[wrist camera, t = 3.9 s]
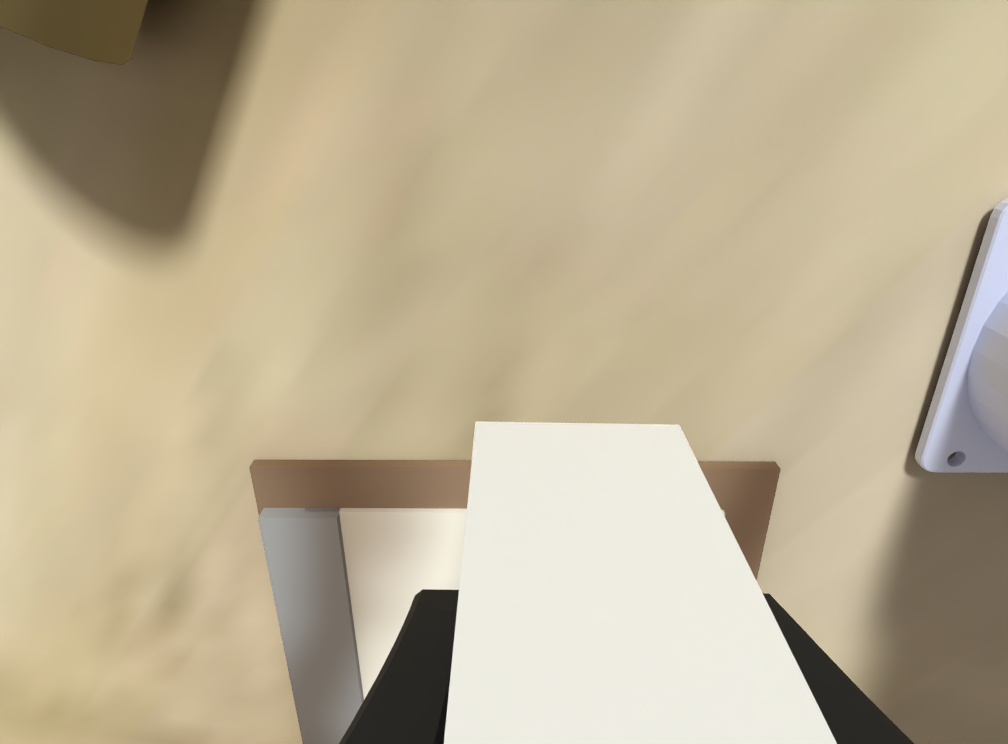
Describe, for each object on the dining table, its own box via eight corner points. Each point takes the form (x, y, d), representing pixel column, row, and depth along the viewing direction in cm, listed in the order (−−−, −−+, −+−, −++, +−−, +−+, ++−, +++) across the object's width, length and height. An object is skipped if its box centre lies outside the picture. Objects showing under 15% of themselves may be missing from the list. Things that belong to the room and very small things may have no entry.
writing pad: (775, 461, 19) (787, 478, 19) (699, 822, 27) (705, 845, 26) (254, 459, 20) (243, 476, 19) (323, 819, 27) (317, 842, 26)
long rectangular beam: (682, 422, 11) (1154, 1351, 3) (658, 583, 13) (926, 1488, 5) (472, 418, 11) (373, 1338, 3) (473, 580, 13) (410, 1478, 5)
